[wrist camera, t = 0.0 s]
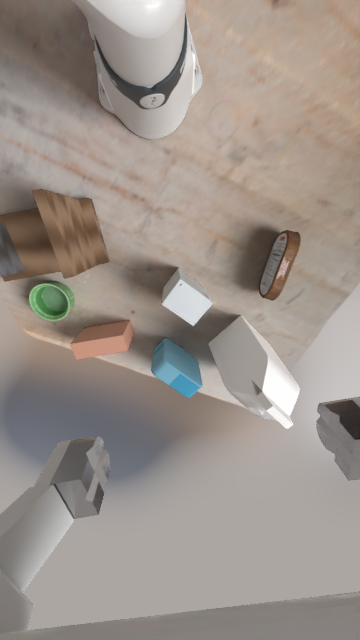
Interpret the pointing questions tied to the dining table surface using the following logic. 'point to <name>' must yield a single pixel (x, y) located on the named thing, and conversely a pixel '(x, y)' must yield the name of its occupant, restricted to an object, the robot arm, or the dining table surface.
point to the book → (103, 339)
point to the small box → (185, 297)
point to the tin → (279, 264)
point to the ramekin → (51, 300)
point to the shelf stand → (51, 238)
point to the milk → (254, 372)
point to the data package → (176, 368)
